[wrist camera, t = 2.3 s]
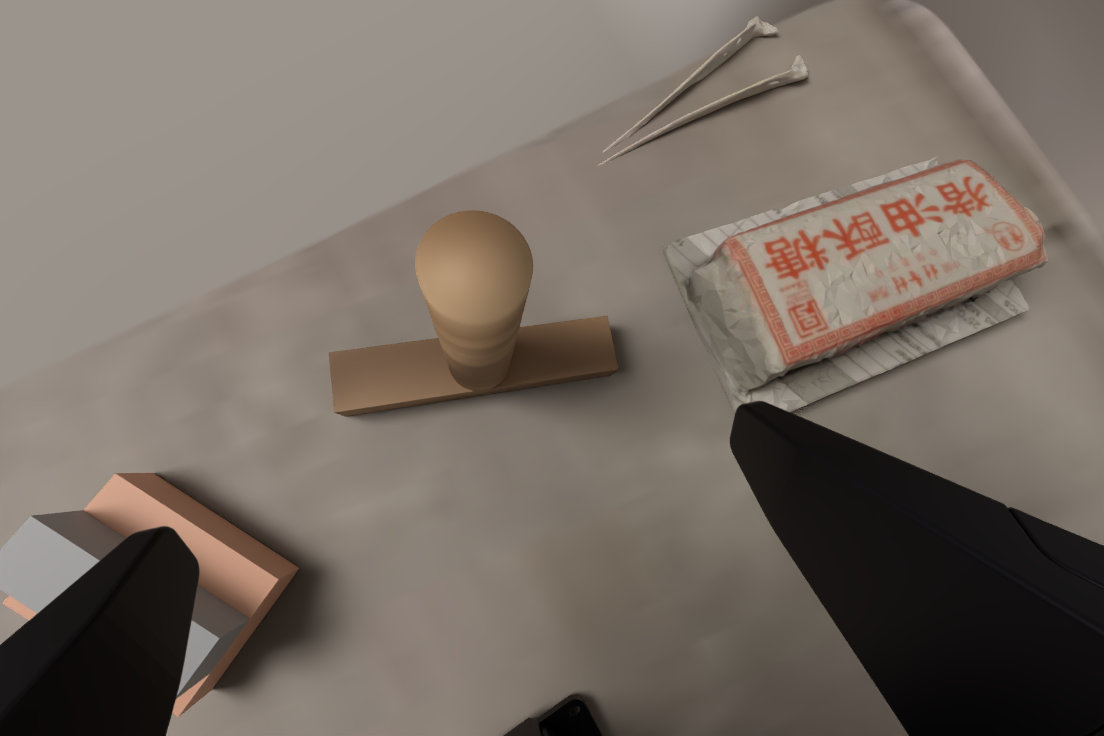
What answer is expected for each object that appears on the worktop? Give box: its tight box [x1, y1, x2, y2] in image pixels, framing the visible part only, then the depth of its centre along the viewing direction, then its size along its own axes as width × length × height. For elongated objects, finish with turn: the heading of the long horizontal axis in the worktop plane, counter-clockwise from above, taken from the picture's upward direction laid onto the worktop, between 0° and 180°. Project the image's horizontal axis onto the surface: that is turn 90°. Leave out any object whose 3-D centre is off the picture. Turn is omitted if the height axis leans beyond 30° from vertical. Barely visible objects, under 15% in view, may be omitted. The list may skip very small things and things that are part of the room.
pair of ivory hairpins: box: [598, 17, 808, 166], centre depth 26 cm, size 17×5×2 cm, turn 127°
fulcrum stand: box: [0, 473, 299, 717], centre depth 16 cm, size 7×5×4 cm
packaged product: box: [663, 157, 1048, 413], centre depth 24 cm, size 18×5×10 cm
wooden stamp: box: [329, 211, 618, 416], centre depth 16 cm, size 3×12×12 cm, turn 100°
